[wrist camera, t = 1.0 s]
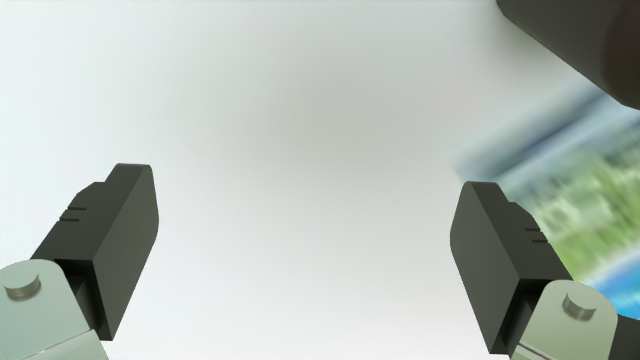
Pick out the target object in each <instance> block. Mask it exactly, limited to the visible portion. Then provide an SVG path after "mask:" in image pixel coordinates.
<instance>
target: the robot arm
mask: <svg viewBox="0 0 640 360" xmlns="http://www.w3.org/2000/svg"><path fill="white" fill-rule="evenodd" d="M59 219H60V220H59V221H57V222H56V224H55V225H54V226H53V228H52V229H51V231H50V232H49V233H48V235H47V236H46V237H45V239H44V240H43V242H42V243H41V244H40V246H39V247H38V248H37V250H36V251H35V253H34V254H33V255H32V257H31V258H30V259H29V260H26V261H21V262H18V263H14V264H12V265H9V266H7V267H5V268H3V269H1V270H0V360H109V359H108V357H107V355H106V352H105V350H104V348H103V346H102V344H101V342H100V341H113V339H114V336H115V334H116V332H117V329H118V327H119V324H120V322H121V320H122V317H123V315H124V313H125V310H126V308H127V306H128V303H129V301H130V298H131V296H132V294H133V291H134V289H135V287H136V284H137V282H138V280H139V277H140V275H141V272H142V270H143V268H144V265H145V263H146V261H147V258H148V256H149V254H150V251H151V249H152V246H153V244H154V242H155V239H156V236H157V232H158V225H159V215H158V207H157V200H156V193H155V186H154V179H153V173H152V169H151V167H150V165H144V164H124V163H118V164H116V166H115V167H114V168H113V170H112V171H111V173H110V174H109V176H108V177H107V179H106V180H105V182H94V183H92V184H91V185H89V186H88V187H86V188H85V189H83V190H82V191H80V192H79V193H77V195H76V196H75V197H74V199H73V200H72V202H71V203H70V204H69V206H68V209H67V210H65V211H64V213H63V214H62V215H61V217H60V218H59ZM450 246H451V251H452V254H453V257H454V260H455V262H456V265H457V268H458V270H459V273H460V276H461V278H462V281H463V284H464V287H465V289H466V292H467V295H468V297H469V300H470V303H471V305H472V308H473V311H474V314H475V316H476V319H477V322H478V324H479V327H480V330H481V332H482V335H483V338H484V341H485V343H486V346H487V349H488V351H489V354H505V355H509V358H510V360H640V320H636V319H632V318H629V317H625V316H622V315H618V314H617V312H616V310H615V308H614V306H613V305H612V304H611V302H610V301H609V300H608V299H607V298H606V297H605V296H604V295H602V294H601V293H600V292H598V291H596V290H595V289H593V288H591V287H589V286H587V285H585V284H582V283H579V282H576V281H574V280H573V279H572V277H571V276H570V274H569V273H568V271H567V269H566V268H565V266H564V265H563V263H562V262H561V260H560V259H559V257H558V256H557V254H556V252H555V251H554V249H553V248H552V246H551V245H550V243H548V240H547V238H546V237H545V235H544V234H543V232H540V228H539V226H538V224H537V223H536V221H535V220H534V218H533V217H532V215H531V214H530V213H528V212H527V211H526V210H525V209H523V208H522V207H521V206H520V205H518V204H517V203H516V202H508V200H507V198H506V197H505V195H504V193H503V192H502V190H501V188H500V187H499V185H498V184H497V183H494V182H474V181H467V182H465V183H464V185H463V187H462V190H461V194H460V197H459V201H458V205H457V208H456V212H455V216H454V219H453V223H452V227H451V232H450Z"/></svg>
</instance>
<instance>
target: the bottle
mask: <svg viewBox="0 0 640 360" xmlns="http://www.w3.org/2000/svg"><path fill="white" fill-rule="evenodd" d="M497 3H498V5H499V7H500V8H501V10H502V12H503V14H504V15H505V16H506V17H507V18H508V19H509V20H511V21H512V22H513V23H514V24H516V25H517V26H518V27H520V28H521V29H522V30H524V31H525V32H526V33H528V34H529V35H530V36H531V37H533V38H534V39H535V40H537V41H538V42H539V43H541V44H542V45H543V46H545V47H546V48H547V49H549V50H550V51H551V52H553V53H554V54H555V55H557V56H558V57H559V58H561V59H562V60H563V61H565V62H566V63H567V64H569V65H570V66H571V67H573V68H574V69H575V70H577V71H578V72H579V73H581V74H582V75H583V76H585V77H586V78H587V79H589V80H590V81H591V82H593V83H594V84H595V85H597V86H598V87H599V88H601V89H602V90H603V91H605V92H606V93H607V94H609V95H610V96H611V97H613V98H614V99H615V100H617V101H618V102H619V103H621V104H622V105H624V106H627V107H631V108H634V109H637V110H640V0H497Z"/></svg>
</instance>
